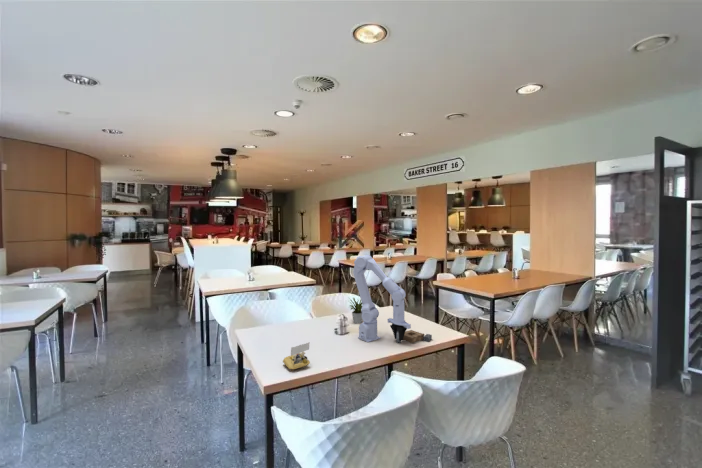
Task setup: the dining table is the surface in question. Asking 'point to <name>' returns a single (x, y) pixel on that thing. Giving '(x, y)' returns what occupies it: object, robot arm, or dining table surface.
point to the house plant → (356, 311)
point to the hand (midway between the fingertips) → (398, 339)
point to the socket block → (413, 336)
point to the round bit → (397, 337)
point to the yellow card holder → (297, 357)
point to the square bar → (427, 337)
